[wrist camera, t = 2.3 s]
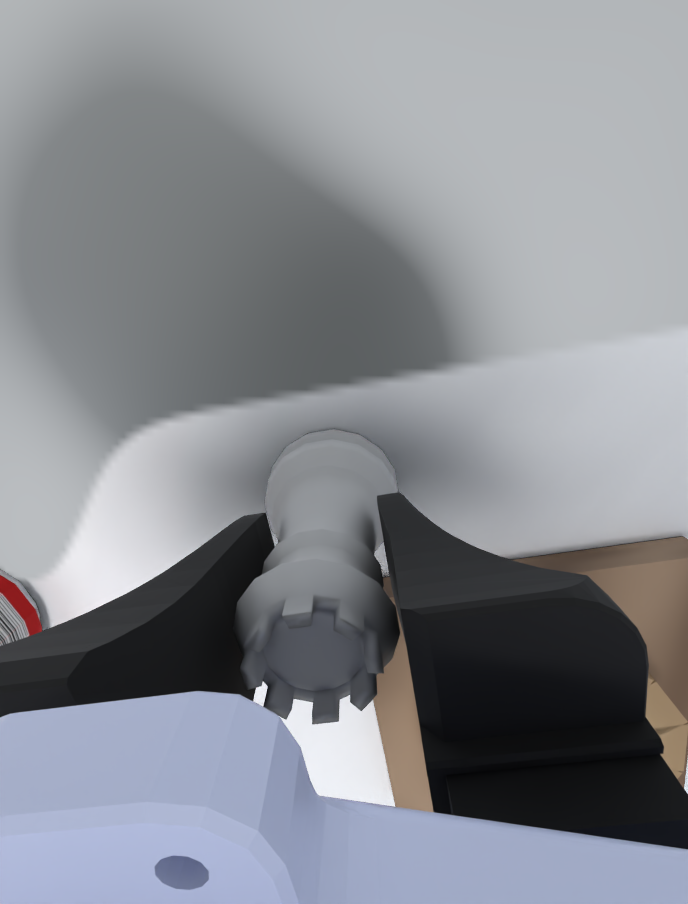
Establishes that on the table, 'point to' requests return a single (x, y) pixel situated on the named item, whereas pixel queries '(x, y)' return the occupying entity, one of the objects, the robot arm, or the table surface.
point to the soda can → (16, 611)
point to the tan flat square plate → (637, 594)
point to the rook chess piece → (321, 579)
